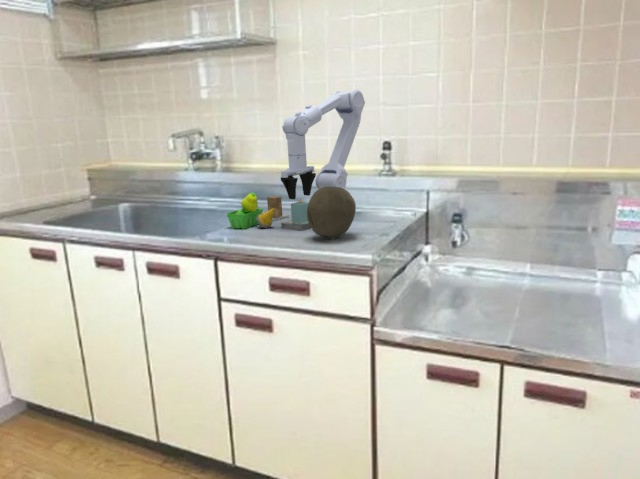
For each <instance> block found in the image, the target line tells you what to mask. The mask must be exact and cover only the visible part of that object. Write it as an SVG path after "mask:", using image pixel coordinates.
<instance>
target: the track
mask: <svg viewBox="0 0 640 479" xmlns="http://www.w3.org/2000/svg"><path fill="white" fill-rule="evenodd" d="M287 218H288V219H289V218H290V215H289V214H285V213H284V214H283V213H282V216H279V217H273V218H272V222H275V221H279V220H284V219H287Z"/></svg>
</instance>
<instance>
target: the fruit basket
mask: <svg viewBox="0 0 640 479" xmlns="http://www.w3.org/2000/svg"><path fill="white" fill-rule="evenodd" d="M240 205H241V209H237V210H234V211H233V210H232V211H230V212H227V213H225V214H226V217H227V218H228V221H229V224H230V226H231V228H232V229H239V228H242V229H241V230H245V229H247V228H248V229H249V228H251V227H254V226H257V225H259V223H258V222H257V219H256V218H257V216H258V215H259V214H263V213H264V212H263V211H264V208H258V206H259V204H258V197H257V194H256V193H255V192H250V193H248V195H246V196H245V197H244V198H243V199H242V200H241V202H240Z"/></svg>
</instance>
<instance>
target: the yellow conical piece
mask: <svg viewBox="0 0 640 479" xmlns="http://www.w3.org/2000/svg"><path fill="white" fill-rule="evenodd" d="M274 211H275V208H273V209H271V210H269V211H268V210H267V211H265V212H262V214H259V215H258V216H257V218H256V219H257V222H258V223H259V224H258V228H259V229H262V228H265V229H269V228H270V227H271V226H272V225H273V224H272V223H273V221H272V218H273V215H274Z"/></svg>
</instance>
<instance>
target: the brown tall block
mask: <svg viewBox="0 0 640 479" xmlns="http://www.w3.org/2000/svg"><path fill="white" fill-rule="evenodd" d="M266 201H267V211H269V210H271V209H273V208H275V211H274V215H273V217H279V216H282V214H283V204H282V196H276V195H271V196H267V197H266Z"/></svg>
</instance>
